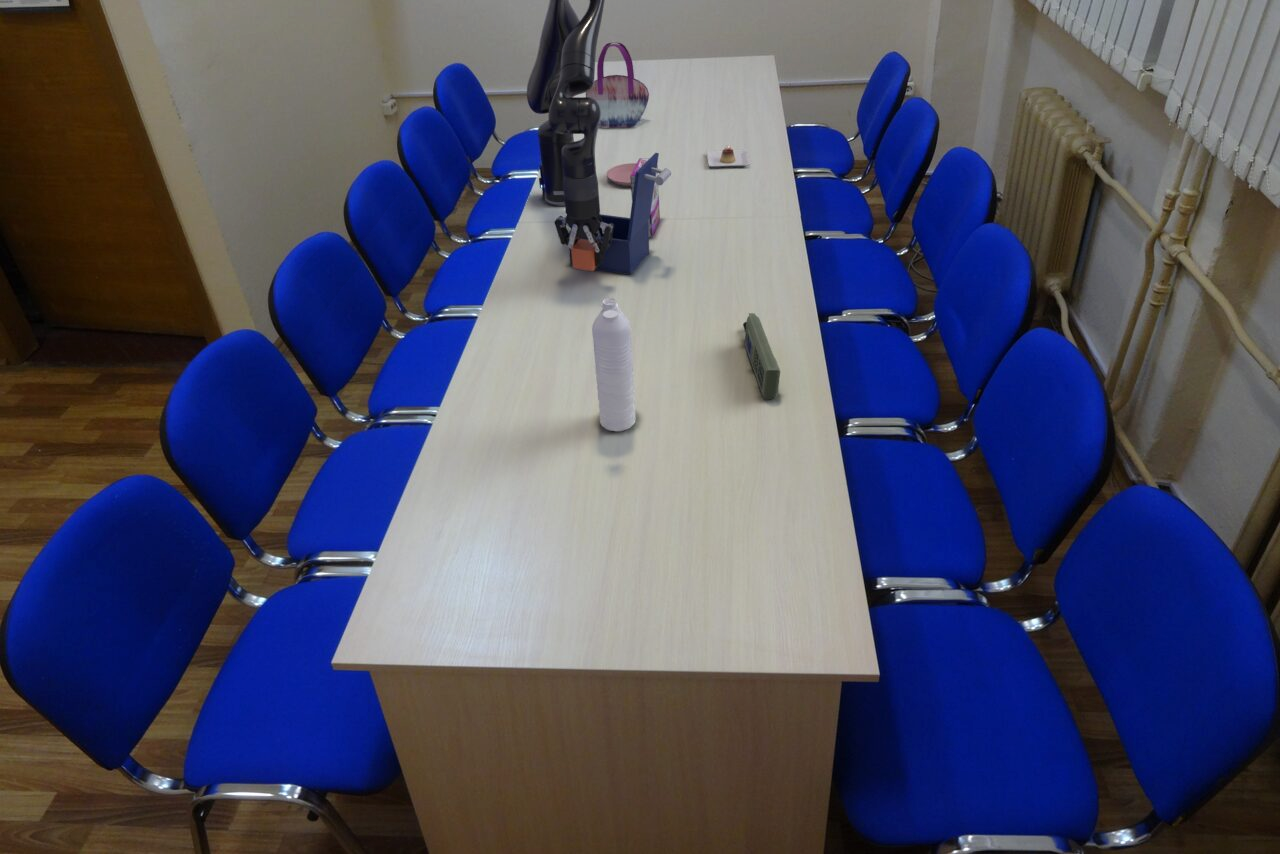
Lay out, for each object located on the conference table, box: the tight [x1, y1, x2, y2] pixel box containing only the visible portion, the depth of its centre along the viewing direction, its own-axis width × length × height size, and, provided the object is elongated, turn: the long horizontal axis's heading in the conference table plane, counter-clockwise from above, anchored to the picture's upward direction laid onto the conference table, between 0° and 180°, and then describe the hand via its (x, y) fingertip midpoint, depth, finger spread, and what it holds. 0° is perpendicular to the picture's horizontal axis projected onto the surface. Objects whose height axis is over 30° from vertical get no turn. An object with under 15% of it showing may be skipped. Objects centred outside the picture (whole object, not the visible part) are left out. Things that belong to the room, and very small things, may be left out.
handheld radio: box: [742, 312, 781, 401], centre depth 167 cm, size 7×3×25 cm
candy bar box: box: [630, 157, 661, 239], centre depth 214 cm, size 11×5×16 cm, turn 168°
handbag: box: [585, 41, 650, 129], centre depth 276 cm, size 21×10×25 cm, turn 85°
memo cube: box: [571, 239, 597, 272], centre depth 194 cm, size 5×5×5 cm
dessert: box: [706, 144, 751, 168], centre depth 251 cm, size 12×12×5 cm
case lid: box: [628, 152, 672, 240], centre depth 193 cm, size 16×12×5 cm
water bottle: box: [591, 297, 636, 432], centre depth 147 cm, size 9×6×25 cm
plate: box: [606, 162, 637, 187], centre depth 244 cm, size 14×14×2 cm
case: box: [568, 213, 650, 275], centre depth 204 cm, size 16×12×8 cm
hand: (587, 263), depth 195 cm, fingers closed on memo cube, 5 cm apart
